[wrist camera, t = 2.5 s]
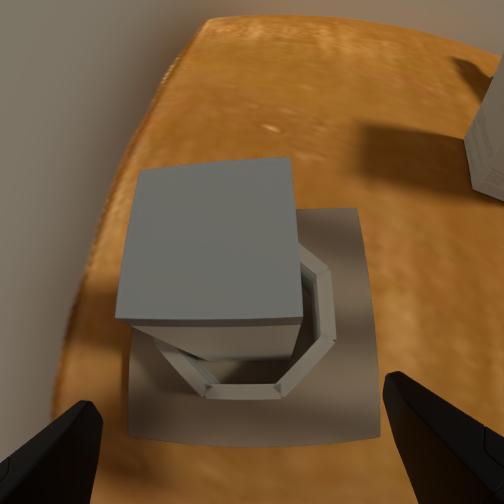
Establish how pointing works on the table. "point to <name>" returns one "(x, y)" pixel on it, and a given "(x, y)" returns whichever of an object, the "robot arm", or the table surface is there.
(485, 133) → the supplement box
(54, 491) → the robot arm
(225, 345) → the link block
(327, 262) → the ring stand
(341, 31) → the table surface
